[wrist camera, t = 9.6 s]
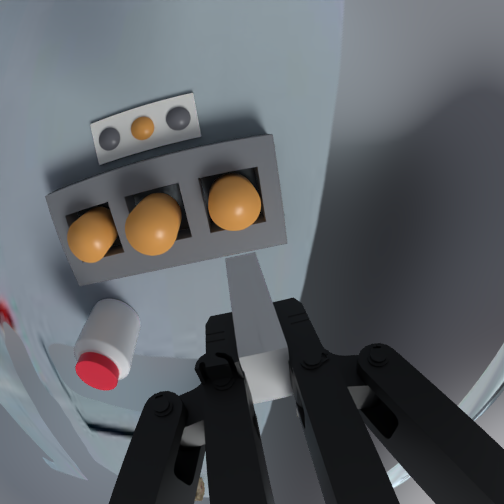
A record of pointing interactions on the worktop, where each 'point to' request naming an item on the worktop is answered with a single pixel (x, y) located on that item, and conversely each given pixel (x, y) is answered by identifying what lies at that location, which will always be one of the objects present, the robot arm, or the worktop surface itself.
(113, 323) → the pill bottle
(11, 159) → the worktop surface
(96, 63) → the worktop surface
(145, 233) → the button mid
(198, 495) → the rock
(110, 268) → the board
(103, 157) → the pattern card
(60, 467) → the worktop surface
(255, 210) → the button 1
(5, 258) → the worktop surface
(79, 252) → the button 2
